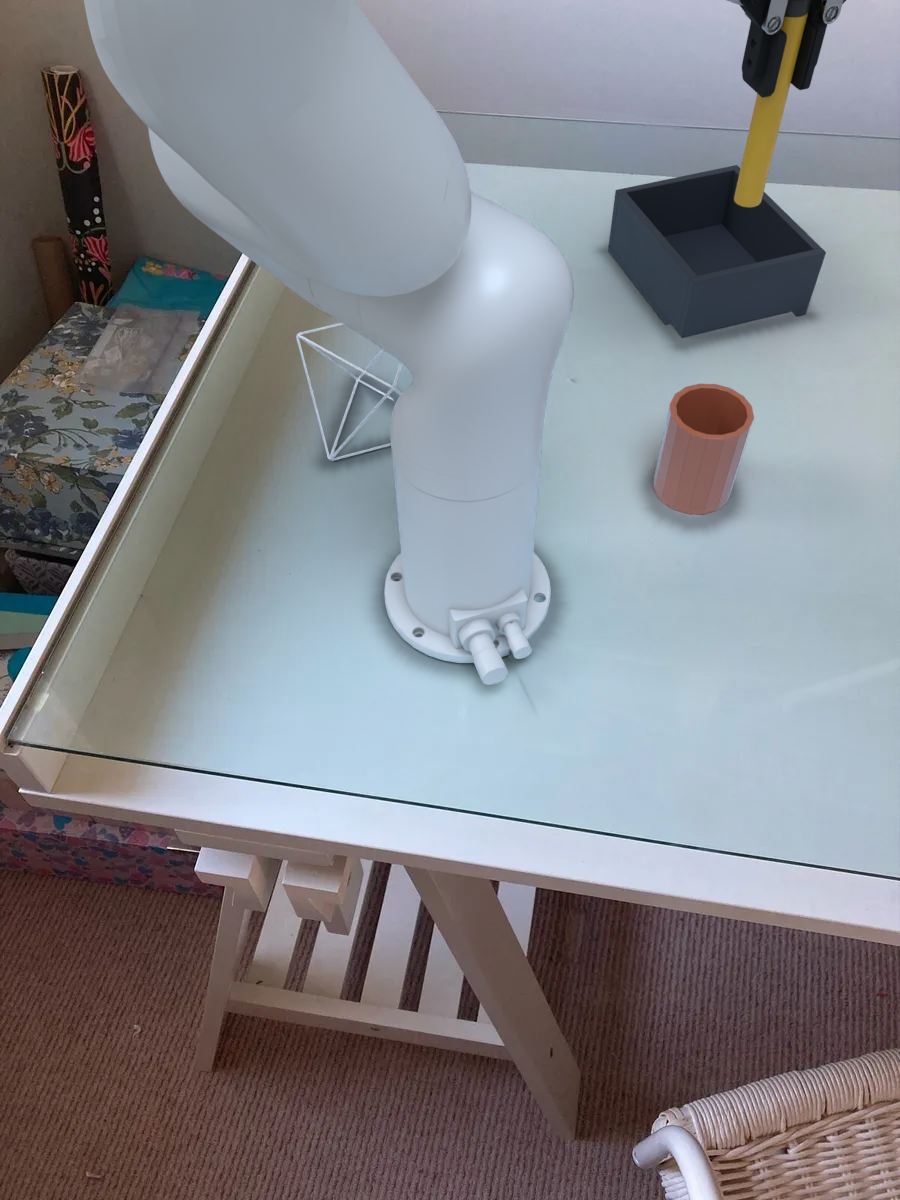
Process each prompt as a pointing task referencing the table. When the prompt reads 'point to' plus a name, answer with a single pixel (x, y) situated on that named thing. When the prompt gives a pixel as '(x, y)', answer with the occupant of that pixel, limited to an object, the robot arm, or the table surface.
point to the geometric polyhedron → (393, 388)
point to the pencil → (770, 113)
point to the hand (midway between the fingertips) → (775, 82)
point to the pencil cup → (702, 448)
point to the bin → (711, 252)
